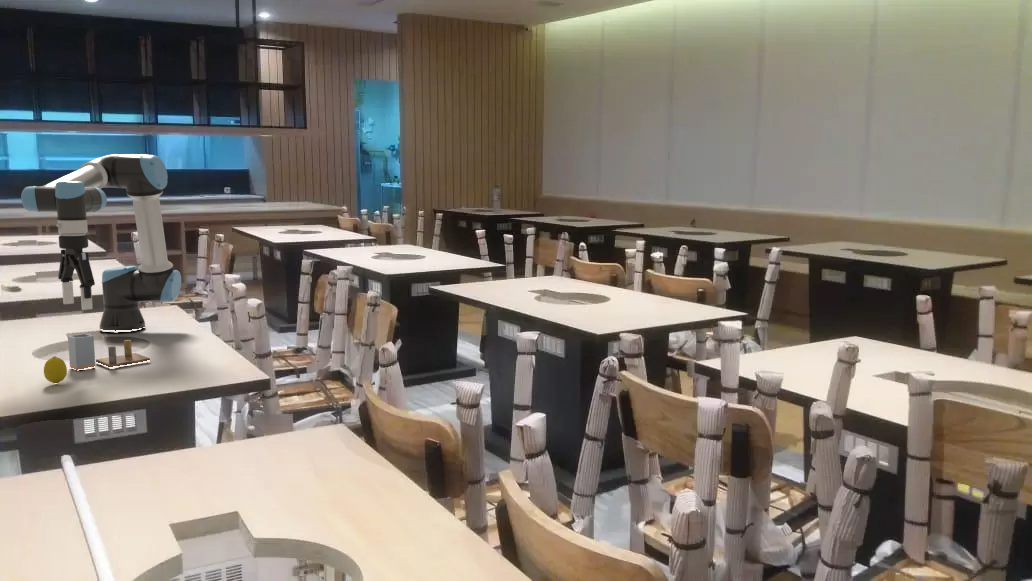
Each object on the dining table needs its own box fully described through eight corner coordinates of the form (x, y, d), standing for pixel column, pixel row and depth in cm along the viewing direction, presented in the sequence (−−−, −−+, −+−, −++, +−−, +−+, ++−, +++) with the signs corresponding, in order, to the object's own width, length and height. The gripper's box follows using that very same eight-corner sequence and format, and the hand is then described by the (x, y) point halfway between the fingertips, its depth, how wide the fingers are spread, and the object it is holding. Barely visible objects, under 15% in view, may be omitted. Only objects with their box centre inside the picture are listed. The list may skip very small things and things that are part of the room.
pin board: (135, 357, 257) (134, 337, 256) (150, 362, 250) (149, 342, 249) (96, 364, 248) (94, 343, 247) (110, 369, 241) (108, 348, 240)
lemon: (44, 388, 221) (42, 359, 220) (45, 383, 226) (43, 355, 225) (67, 385, 224) (65, 357, 222) (68, 381, 228) (66, 353, 227)
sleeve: (88, 365, 246) (86, 333, 244) (95, 368, 242) (93, 335, 241) (70, 368, 242) (67, 335, 240) (77, 371, 238) (74, 338, 237)
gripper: (43, 232, 241) (48, 302, 244) (76, 238, 225) (81, 313, 228) (70, 231, 247) (74, 300, 250) (104, 236, 231) (108, 310, 234)
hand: (77, 306), depth 239 cm, fingers open, 13 cm apart
